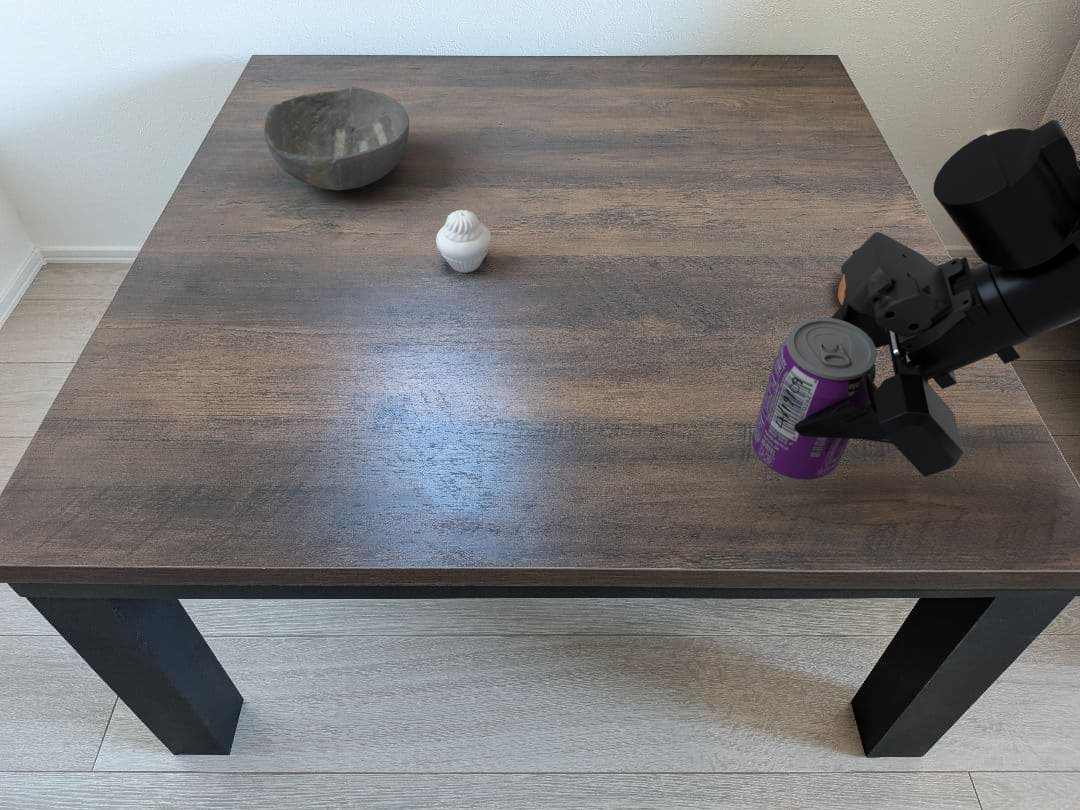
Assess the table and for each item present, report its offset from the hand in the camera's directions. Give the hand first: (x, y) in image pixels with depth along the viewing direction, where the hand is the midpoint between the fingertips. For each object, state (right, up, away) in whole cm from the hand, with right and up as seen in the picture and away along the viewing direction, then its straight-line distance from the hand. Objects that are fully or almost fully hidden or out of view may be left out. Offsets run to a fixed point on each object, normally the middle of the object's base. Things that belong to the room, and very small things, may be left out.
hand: (795, 395), depth 60 cm
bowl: (-45, +29, +42) cm, 68 cm away
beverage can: (+1, -5, +5) cm, 7 cm away
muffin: (-28, +15, +30) cm, 44 cm away
